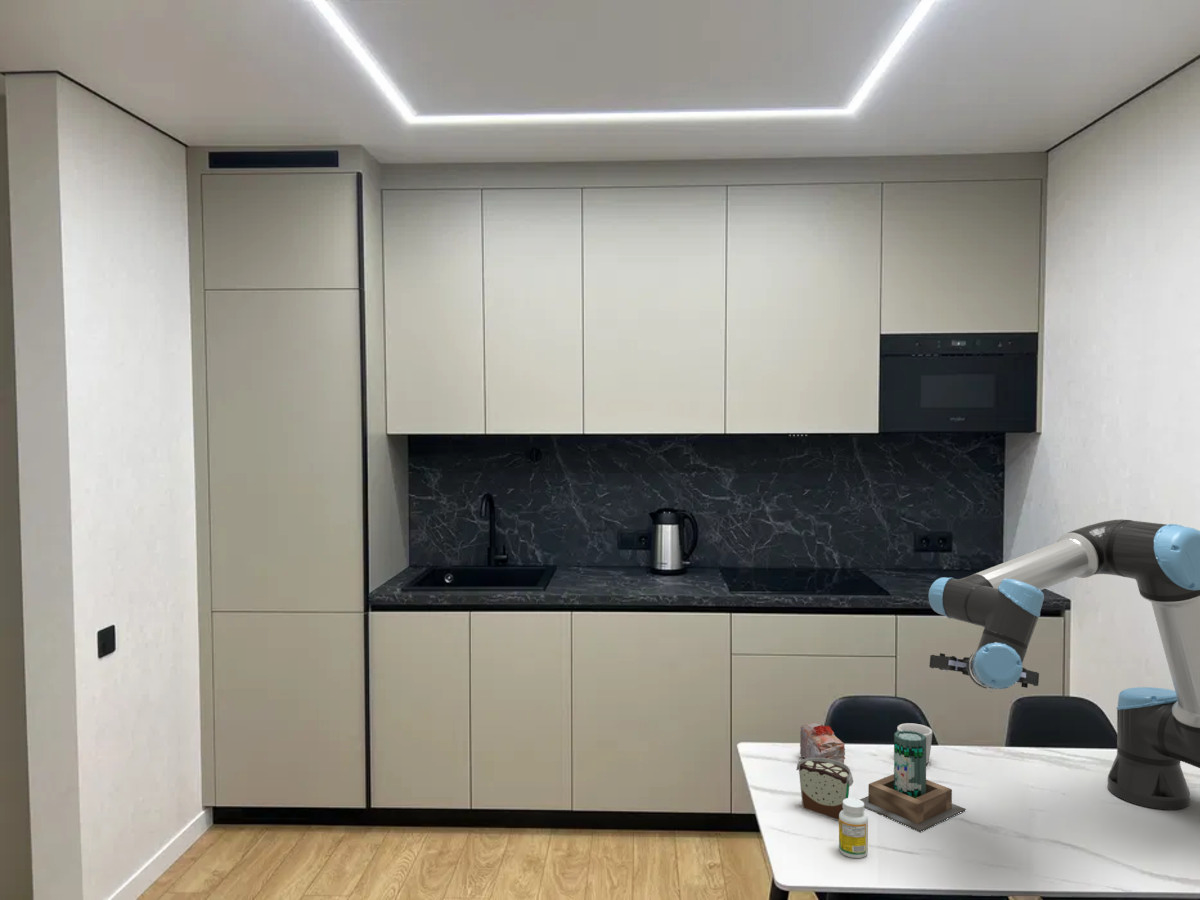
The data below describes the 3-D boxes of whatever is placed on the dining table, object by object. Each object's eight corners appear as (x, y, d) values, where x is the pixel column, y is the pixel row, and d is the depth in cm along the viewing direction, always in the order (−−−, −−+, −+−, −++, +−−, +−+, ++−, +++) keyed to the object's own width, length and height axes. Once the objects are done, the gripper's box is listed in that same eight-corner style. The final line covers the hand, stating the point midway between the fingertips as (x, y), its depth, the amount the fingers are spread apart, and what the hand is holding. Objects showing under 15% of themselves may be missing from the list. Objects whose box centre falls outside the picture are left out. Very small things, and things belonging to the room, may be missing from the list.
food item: (849, 777, 196) (849, 735, 196) (817, 779, 195) (817, 737, 195) (825, 754, 210) (825, 715, 209) (794, 756, 208) (794, 717, 208)
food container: (863, 814, 178) (863, 767, 177) (850, 825, 173) (850, 776, 173) (810, 797, 186) (810, 752, 186) (796, 806, 181) (796, 760, 181)
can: (888, 804, 181) (889, 734, 181) (905, 796, 185) (905, 728, 184) (914, 814, 176) (914, 743, 176) (930, 806, 180) (931, 736, 180)
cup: (937, 774, 197) (937, 740, 197) (901, 771, 199) (901, 738, 199) (929, 756, 208) (929, 723, 208) (895, 753, 210) (895, 721, 209)
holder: (965, 810, 179) (966, 790, 179) (920, 832, 170) (920, 810, 170) (900, 784, 192) (900, 765, 192) (854, 803, 183) (854, 783, 183)
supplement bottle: (860, 862, 159) (860, 811, 158) (833, 852, 162) (833, 803, 162) (872, 850, 163) (872, 801, 162) (846, 842, 166) (846, 793, 166)
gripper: (917, 675, 163) (915, 677, 183) (1063, 701, 155) (1044, 701, 174) (921, 636, 165) (918, 642, 184) (1065, 659, 156) (1046, 663, 176)
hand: (979, 671), depth 179 cm, fingers open, 13 cm apart
